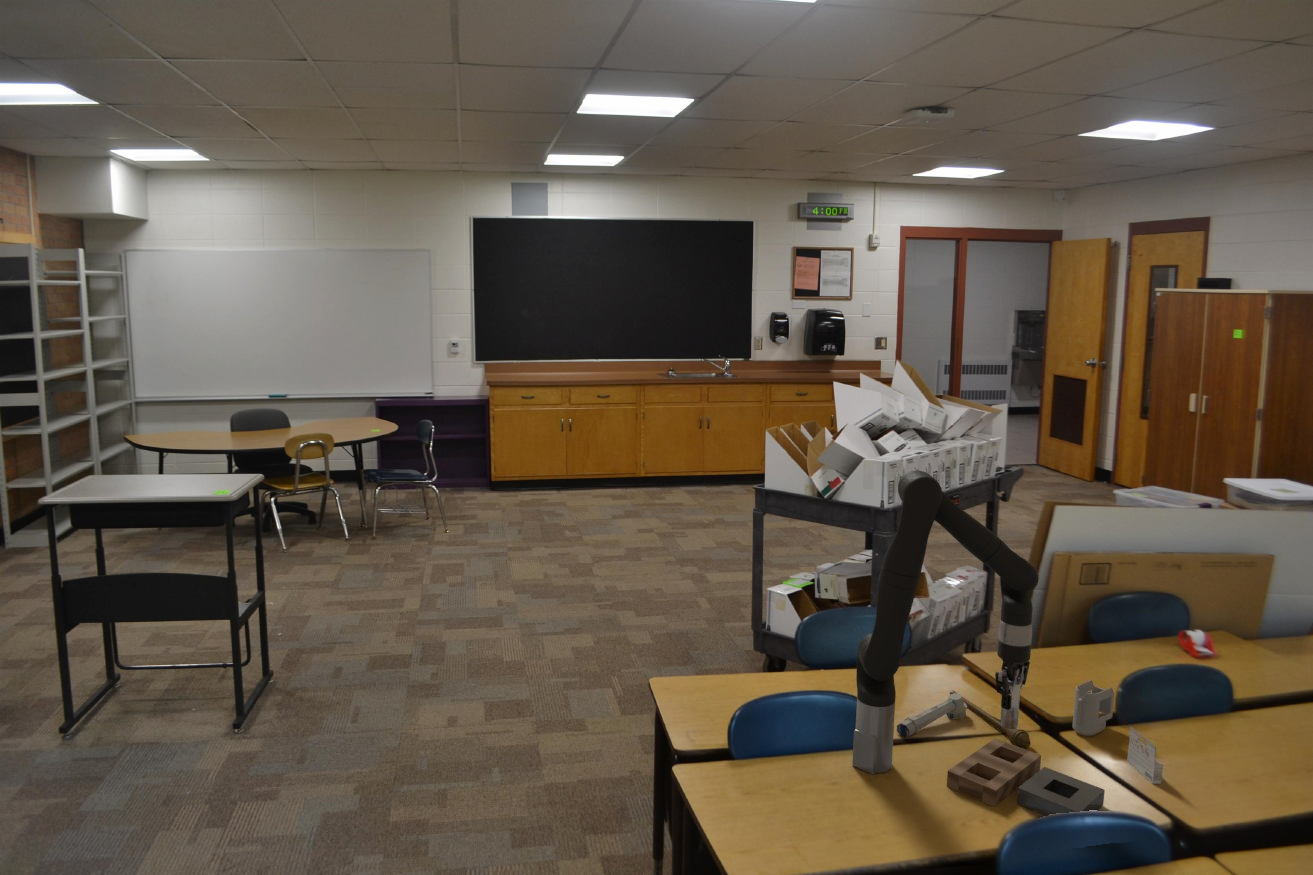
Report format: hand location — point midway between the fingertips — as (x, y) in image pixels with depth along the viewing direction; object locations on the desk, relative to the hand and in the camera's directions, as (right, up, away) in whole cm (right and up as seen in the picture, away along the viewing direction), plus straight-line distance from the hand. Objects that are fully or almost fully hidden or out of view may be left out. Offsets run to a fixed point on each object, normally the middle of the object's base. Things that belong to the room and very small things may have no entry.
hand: (1010, 705), depth 226 cm
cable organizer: (+31, -14, +24) cm, 42 cm away
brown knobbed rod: (+5, -13, +29) cm, 32 cm away
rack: (-4, -17, -1) cm, 18 cm away
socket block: (+7, -19, -13) cm, 24 cm away
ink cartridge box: (+34, -17, +2) cm, 38 cm away
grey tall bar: (0, -5, +1) cm, 5 cm away
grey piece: (-11, -13, +26) cm, 32 cm away
